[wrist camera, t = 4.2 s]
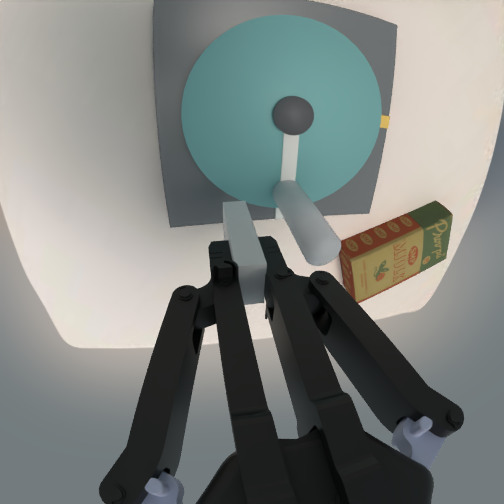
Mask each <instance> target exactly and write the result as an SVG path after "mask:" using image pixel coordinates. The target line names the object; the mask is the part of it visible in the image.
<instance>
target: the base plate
mask: <svg viewBox="0 0 504 504" xmlns="http://www.w3.org/2000/svg"><path fill="white" fill-rule="evenodd" d="M270 15H295V16H301V17H306V18H310V19H313V20H316V21H319V22H322V23H324V24H326V25H328V26H330V27H332V28H334V29H336V30H337V31H339V32H340V33H342V34H343V35H344V36H346V37H347V38H348V39H349V40H350V41H351V42H352V43H354V44H355V45H356V46H357V48H358V49H359V50H360V51H361V52H362V54H363V55H364V56H365V58H366V59H367V61H368V63H369V64H370V66H371V68H372V70H373V72H374V74H375V77H376V80H377V83H378V86H379V90H380V96H381V109H382V113H381V124H380V129H379V133H378V137H377V140H376V143H375V145H374V147H373V150H372V152H371V154H370V156H369V157H368V159H367V160H366V162H365V164H364V165H363V166H362V168H361V169H360V170H359V171H358V173H357V174H356V175H355V176H354V177H353V178H352V179H351V180H350V181H349V182H348V183H346V184H345V185H344V186H342V187H341V188H340V189H339V190H337V191H335V192H334V193H332V194H330V195H329V196H327V197H324V198H322V199H320V200H318V201H315V202H313V203H314V205H315V206H316V207H317V209H318V210H319V211H320V213H321V214H322V215H323V216H327V215H347V214H369V212H370V208H371V204H372V200H373V195H374V191H375V187H376V182H377V178H378V173H379V168H380V163H381V158H382V153H383V148H384V142H385V137H386V131H387V129H388V125H389V119H390V116H389V111H390V104H391V96H392V88H393V78H394V67H395V55H396V37H397V25H395V24H393V23H390V22H387V21H385V20H382V19H379V18H376V17H373V16H370V15H367V14H363V13H360V12H356V11H353V10H349V9H345V8H341V7H337V6H333V5H329V4H324V3H319V2H314V1H309V0H154V13H153V56H154V84H155V102H156V116H157V128H158V139H159V149H160V158H161V167H162V175H163V183H164V190H165V197H166V204H167V211H168V217H169V224H170V228H172V227H182V226H192V225H203V224H214V223H223V202H233V201H241V200H238V199H236V198H235V197H233V196H231V195H229V194H227V193H225V192H224V191H223V190H221V189H220V188H218V187H217V186H216V185H215V184H214V183H212V182H211V181H210V180H209V179H208V178H207V177H206V176H205V174H204V173H203V172H202V171H201V170H200V168H199V167H198V165H197V164H196V162H195V161H194V159H193V157H192V155H191V153H190V151H189V149H188V146H187V144H186V140H185V137H184V133H183V127H182V119H181V110H182V99H183V93H184V88H185V85H186V82H187V79H188V76H189V74H190V72H191V70H192V68H193V66H194V64H195V63H196V61H197V60H198V58H199V57H200V56H201V54H202V53H203V52H204V50H205V49H206V48H207V47H208V46H209V45H210V44H211V43H212V42H213V41H214V40H215V39H217V38H218V37H219V36H221V35H222V34H223V33H225V32H226V31H228V30H229V29H231V28H233V27H235V26H237V25H238V24H241V23H243V22H246V21H249V20H251V19H255V18H259V17H264V16H270ZM246 204H247V207H248V210H249V213H250V216H251V219H252V220H264V219H284V217H283V215H282V213H281V211H280V210H279V208H270V207H262V206H257V205H253V204H249V203H247V202H246Z"/></svg>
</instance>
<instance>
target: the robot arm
mask: <svg viewBox="0 0 504 504" xmlns="http://www.w3.org/2000/svg"><path fill="white" fill-rule="evenodd" d="M223 226H224V241H213V242H211V244H210V245H209V247H208V248H209V259H210V270H211V280H210V281H209V283H208V284H207V285H205V286H203V287H201V288H198V289H197V288H195V287H194V286H190V285H184V286H181V287H178V288H177V289H176V290H174V292H173V294H172V296H171V299H170V302H169V305H168V308H167V311H166V314H165V317H164V319H163V322H162V325H161V328H160V331H159V335H158V338H157V341H156V344H155V347H154V350H153V353H152V356H151V360H150V363H149V366H148V369H147V373H146V376H145V380H144V383H143V387H142V390H141V393H140V397H139V401H138V404H137V408H136V412H135V415H134V419H133V423H132V427H131V431H130V435H129V439H128V443H127V447H126V448H125V450H124V451H123V453H122V454H121V455H120V457H119V458H118V460H117V461H116V463H115V464H114V465H113V467H112V468H111V469H110V471H109V472H108V474H107V475H106V476H105V478H104V479H103V481H102V482H101V484H100V487H99V494H100V497H101V499H102V501H103V502H104V503H105V504H183V503H182V499H183V495H184V488H183V485H182V483H181V482H180V481H179V480H178V479H176V478H175V477H174V476H175V473H176V471H177V468H178V465H179V461H180V456H181V451H182V445H183V439H184V433H185V428H186V422H187V417H188V411H189V406H190V401H191V395H192V389H193V385H194V380H195V374H196V370H197V365H198V360H199V355H200V350H201V345H202V340H203V335H204V331H205V328H206V327H208V326H211V325H213V324H217V332H218V340H219V347H220V353H221V361H222V368H223V375H224V382H225V388H226V395H227V401H228V407H229V412H230V419H231V425H232V431H233V436H234V442H235V448H236V451H235V452H234V453H232V454H231V455H230V456H229V457H228V458H226V460H225V461H224V462H223V463H222V465H221V466H220V468H219V469H218V471H217V472H216V474H215V476H214V477H213V479H212V480H211V482H210V484H209V485H208V486H207V488H206V489H205V491H204V492H203V494H202V495H201V497H200V498H199V500H198V501H197V502H196V504H431V499H432V493H433V487H434V486H433V484H434V482H433V477H432V475H431V473H430V471H429V469H430V467H431V465H432V463H433V461H434V460H435V458H436V456H437V454H438V452H439V450H440V448H441V446H442V444H443V442H444V440H445V438H446V437H447V436H449V435H450V434H452V433H453V432H455V431H457V430H458V429H460V428H461V426H462V424H463V421H464V414H463V411H462V409H461V408H460V407H459V406H458V405H456V404H455V403H453V402H452V401H450V400H449V399H447V398H446V397H444V396H442V395H441V394H439V393H438V392H436V391H435V390H433V389H432V388H430V387H428V385H427V384H426V383H425V382H424V380H423V379H422V378H421V377H420V376H419V374H418V373H417V372H416V371H415V369H414V368H413V367H412V366H411V364H410V363H409V362H408V361H407V360H406V358H405V357H404V356H403V355H402V354H401V352H400V351H399V350H398V349H397V348H396V347H395V345H394V344H393V343H392V342H391V341H390V340H389V338H388V337H387V336H386V335H385V334H384V333H383V331H382V330H380V328H379V327H378V326H377V325H376V323H375V322H374V321H373V320H372V319H371V318H370V317H369V315H368V314H367V313H366V312H365V311H364V310H363V309H362V307H361V306H360V305H359V304H358V303H357V302H356V301H355V300H354V299H353V297H352V296H351V295H350V294H349V293H348V292H347V291H346V290H345V289H344V288H343V286H342V285H341V284H340V283H339V282H338V281H337V280H336V279H335V278H334V277H333V276H332V275H331V274H330V273H328V272H325V271H315V272H313V273H312V274H311V275H310V277H304V276H299V275H296V274H294V272H293V271H292V270H291V269H290V268H288V267H287V265H286V263H285V260H284V258H283V256H282V253H281V252H280V249H279V246H278V244H277V241H276V240H275V239H274V238H272V237H271V236H265V237H258V236H257V233H256V230H255V228H254V225H253V222H252V219H251V216H250V213H249V210H248V207H247V204H246V202H245V201H233V202H223ZM264 296H265V300H266V311H265V319H267V316H268V319H269V323H270V326H271V330H272V333H273V337H274V340H275V344H276V348H277V351H278V355H279V358H280V362H281V366H282V369H283V373H284V376H285V380H286V383H287V387H288V390H289V394H290V397H291V401H292V405H293V408H294V412H295V415H296V419H297V430H298V436H299V438H298V439H278V437H277V433H276V429H275V425H274V421H273V417H272V414H271V412H270V411H269V409H268V406H267V402H266V398H265V394H264V390H263V385H262V381H261V377H260V373H259V369H258V364H257V360H256V356H255V351H254V347H253V343H252V338H251V333H250V329H249V324H248V320H247V315H246V311H245V306H244V305H248V304H256V303H264ZM324 345H325V346H326V348H327V349H328V351H329V352H330V353H331V355H332V356H333V357H334V359H335V360H336V361H337V363H338V364H339V366H340V367H341V368H342V370H343V371H344V373H345V374H346V375H347V377H348V378H349V380H350V381H351V382H352V384H353V385H354V386H355V388H356V389H357V390H358V392H359V393H360V395H361V396H362V397H363V398H364V400H365V402H366V403H367V404H368V406H369V407H370V408H371V410H372V411H373V413H374V414H375V416H376V417H377V418H378V419H379V420H380V422H381V423H382V424H383V425H384V426H385V427H386V428H387V429H388V430H389V431H391V432H392V433H393V439H392V445H393V446H394V447H397V448H398V449H399V450H400V452H399V451H397V450H395V449H393V448H392V447H390V446H388V445H387V444H385V443H383V442H382V441H380V440H378V439H377V438H375V437H373V436H372V435H370V434H368V433H367V432H365V431H364V430H363V427H362V424H361V422H360V419H359V416H358V414H357V411H356V409H355V406H354V403H353V401H352V399H351V397H350V396H349V395H348V394H347V393H344V392H343V391H342V389H341V388H340V385H339V382H338V379H337V377H336V375H335V372H334V369H333V367H332V364H331V361H330V359H329V356H328V354H327V351H326V349H325V346H324Z"/></svg>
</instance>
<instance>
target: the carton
mask: <svg viewBox="0 0 504 504" xmlns="http://www.w3.org/2000/svg"><path fill="white" fill-rule="evenodd" d="M452 217H453V215H452V213H451V212H450V211H449V210H448V209H447V208H445V207H444V206H443V205H442V204H440V203H439V202H437V201H434V202H431V203H429V204H427V205H425V206H423V207H420V208H418V209H416V210H414V211H411V212H409V213H407V214H404V215H402V216H400V217H397V218H395V219H392V220H390V221H388V222H385V223H383V224H381V225H378V226H376V227H373V228H371V229H369V230H366V231H364V232H362V233H359V234H357V235H354V236H352V237H349V238H347V239H345V240H342V241H341V249H340V252H339V255H340V261H341V268H342V275H343V284H344V286H345V288H346V290H347V292H348V293H349V294H350V295H351V296H352V297H353V299H354V300H355V301H356V302H357V303H360V302H362V301H365V300H367V299H369V298H371V297H373V296H375V295H377V294H379V293H381V292H383V291H385V290H388V289H389V288H391V287H393V286H395V285H397V284H399V283H401V282H403V281H405V280H407V279H409V278H411V277H413V276H415V275H417V274H419V273H420V272H422V271H424V270H426V269H428V268H430V267H432V266H433V265H435V264H437V263H439V262H441V261H442V260H444V259H446V255H447V249H448V244H449V237H450V231H451V225H452Z"/></svg>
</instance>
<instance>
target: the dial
mask: <svg viewBox="0 0 504 504" xmlns="http://www.w3.org/2000/svg"><path fill="white" fill-rule="evenodd" d="M381 113H382V109H381V96H380V90H379V86H378V83H377V80H376V77H375V74H374V72H373V70H372V68H371V66H370V64H369V63H368V61H367V59H366V58H365V56H364V55H363V54H362V52H361V51H360V50H359V49H358V48H357V46H356V45H355V44H354V43H352V42H351V41H350V40H349V39H348V38H347V37H346V36H344V35H343V34H342V33H340V32H339V31H337V30H336V29H334V28H332V27H330V26H328V25H326V24H324V23H322V22H319V21H316V20H313V19H310V18H306V17H301V16H295V15H270V16H264V17H259V18H255V19H251V20H249V21H246V22H243V23H241V24H238V25H237V26H235V27H233V28H231V29H229V30H228V31H226V32H225V33H223V34H222V35H221V36H219V37H218V38H217V39H215V40H214V41H213V42H212V43H211V44H210V45H209V46H208V47H207V48H206V49H205V50H204V52H203V53H202V54H201V56H200V57H199V58H198V60H197V61H196V63H195V64H194V66H193V68H192V70H191V72H190V74H189V76H188V79H187V82H186V85H185V88H184V93H183V99H182V110H181V119H182V127H183V133H184V137H185V140H186V144H187V146H188V149H189V151H190V153H191V155H192V157H193V159H194V161H195V162H196V164H197V165H198V167H199V168H200V170H201V171H202V172H203V173H204V174H205V176H206V177H207V178H208V179H209V180H210V181H211V182H212V183H214V184H215V185H216V186H217V187H218V188H220V189H221V190H223V191H224V192H225V193H227V194H229V195H231V196H233V197H235V198H236V199H238V200H241V201H245V202H247V203H249V204H253V205H257V206H262V207H270V208H279V210H280V211H281V213H282V215H283V217H284V219H285V221H286V223H287V225H288V226H289V228H290V230H291V232H292V234H293V236H294V238H295V240H296V242H297V244H298V246H299V248H300V250H301V252H302V254H303V255H304V257H305V259H306V261H307V262H308V263H309V264H311V265H314V266H321V265H325V264H327V263H329V262H331V261H332V260H333V259H335V258H336V257H337V255H338V254H339V252H340V249H341V241H340V239H339V238H338V236H337V235H336V233H335V232H334V231H333V229H332V228H331V226H330V225H329V224H328V222H327V221H326V220H325V218H324V217H323V215H322V214H321V213H320V211H319V210H318V209H317V207H316V206H315V205H314V203H313V202H315V201H318V200H320V199H322V198H324V197H327V196H329V195H330V194H332V193H334V192H335V191H337V190H339V189H340V188H341V187H342V186H344V185H345V184H346V183H348V182H349V181H350V180H351V179H352V178H353V177H354V176H355V175H356V174H357V173H358V171H359V170H360V169H361V168H362V166H363V165H364V164H365V162H366V160H367V159H368V157H369V156H370V154H371V152H372V150H373V147H374V145H375V143H376V140H377V137H378V133H379V129H380V124H381Z"/></svg>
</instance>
